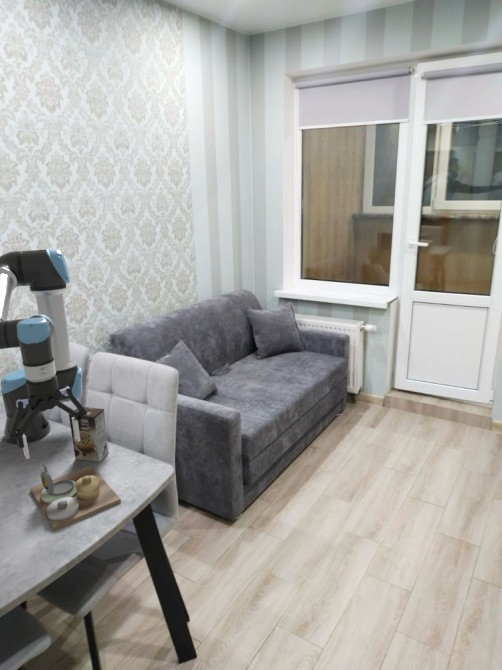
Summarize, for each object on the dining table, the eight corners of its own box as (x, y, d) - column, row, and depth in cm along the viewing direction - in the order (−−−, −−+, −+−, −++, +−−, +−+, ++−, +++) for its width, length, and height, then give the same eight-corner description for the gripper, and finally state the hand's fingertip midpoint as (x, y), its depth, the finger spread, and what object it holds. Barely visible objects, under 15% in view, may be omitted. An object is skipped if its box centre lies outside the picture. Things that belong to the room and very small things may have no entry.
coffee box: (74, 459, 153) (67, 414, 149) (85, 449, 159) (79, 405, 155) (99, 462, 151) (93, 416, 147) (109, 452, 157) (104, 407, 153)
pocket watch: (78, 483, 137) (74, 453, 135) (62, 501, 130) (56, 469, 127) (53, 481, 139) (48, 450, 136) (35, 498, 131) (29, 467, 128)
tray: (30, 491, 138) (27, 472, 136) (91, 468, 148) (89, 450, 147) (54, 530, 121) (50, 509, 119) (120, 501, 132) (118, 482, 130)
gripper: (-8, 394, 114) (7, 470, 121) (92, 369, 129) (101, 438, 136) (-15, 385, 120) (0, 458, 127) (83, 361, 135) (92, 428, 141)
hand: (53, 447), depth 131 cm, fingers open, 13 cm apart
